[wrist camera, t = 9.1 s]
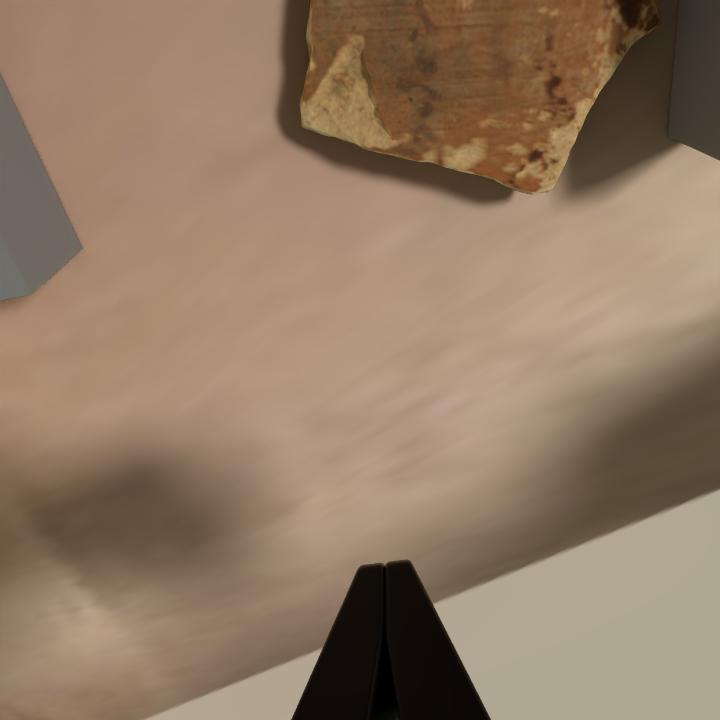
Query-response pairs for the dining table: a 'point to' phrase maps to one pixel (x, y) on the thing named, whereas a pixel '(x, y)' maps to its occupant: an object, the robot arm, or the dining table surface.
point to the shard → (466, 78)
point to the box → (60, 243)
